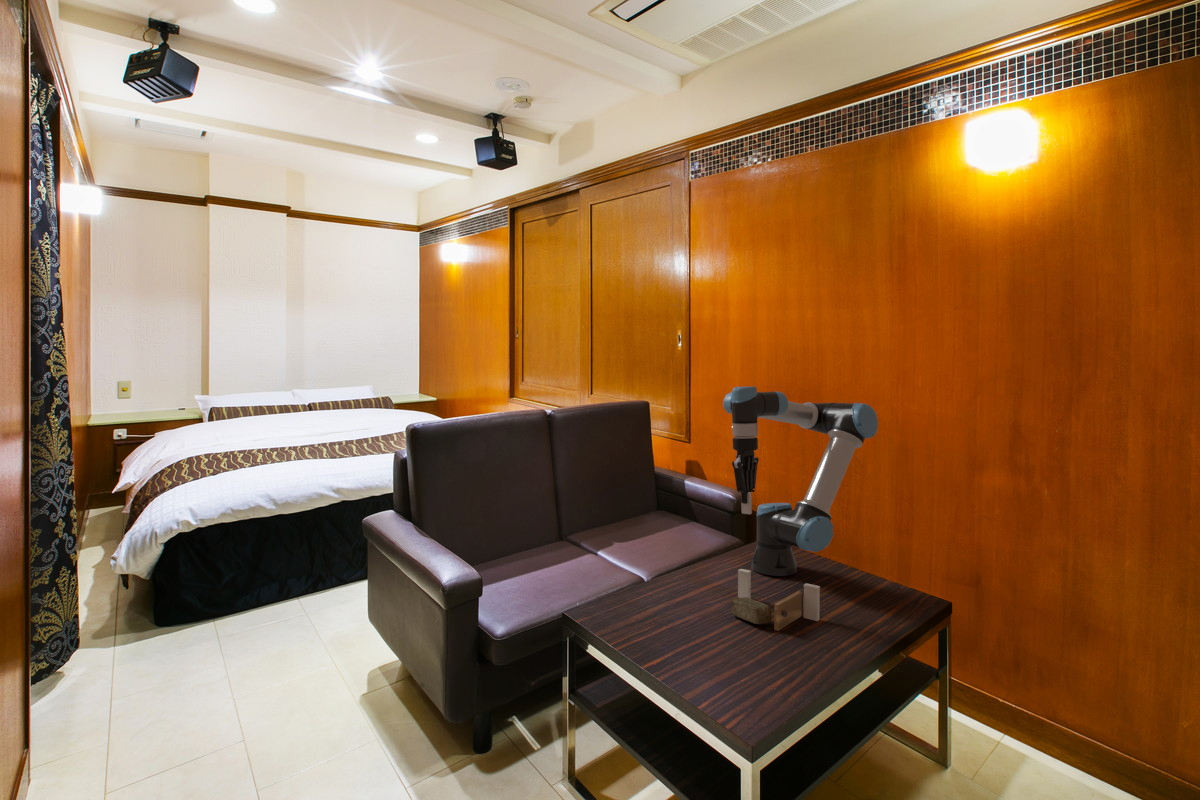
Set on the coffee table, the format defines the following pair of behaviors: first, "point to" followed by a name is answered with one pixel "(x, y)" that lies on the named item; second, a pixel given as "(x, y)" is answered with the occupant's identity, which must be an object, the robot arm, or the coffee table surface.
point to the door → (788, 610)
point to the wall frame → (809, 594)
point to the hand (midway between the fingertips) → (746, 513)
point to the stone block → (751, 610)
